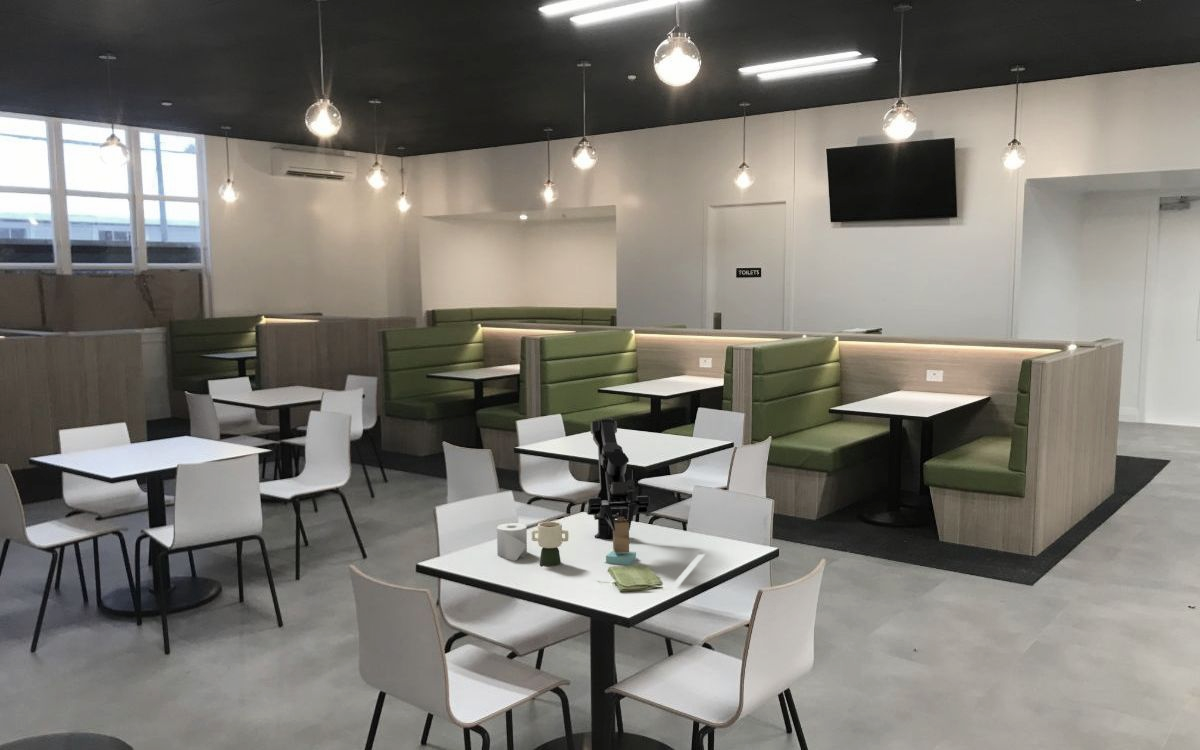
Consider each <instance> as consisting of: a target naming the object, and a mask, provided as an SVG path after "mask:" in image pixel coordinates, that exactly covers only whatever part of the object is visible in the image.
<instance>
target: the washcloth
mask: <svg viewBox="0 0 1200 750" xmlns="http://www.w3.org/2000/svg"><path fill="white" fill-rule="evenodd" d="M607 573H609V574H610V576H611V578H612V579H613V580H614V581H615V582H614V581H613V582H612V584H614V585H615V587H617V589H618V591H619V592H621V593H624V592H626V593H627V592H632V591H644V590H651V589H663V588H664V587H663V586H662V585H663V582H662V579H661V577H659V576H658V575H657V574H656V573H655V572H654V570H653V569H652V568H651V567H649V565H642V564H641V565H630V566H627V565H617V566H616V565H613V566H611V565H610V566H609V567H607ZM658 585H660V586H658Z"/></svg>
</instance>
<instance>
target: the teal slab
mask: <svg viewBox="0 0 1200 750" xmlns="http://www.w3.org/2000/svg"><path fill="white" fill-rule="evenodd" d="M636 558H637V552H636V551H630V550H629V552H623V553H615V552H614V550H612V551H610V552H608V554H606V556H605V562H606V563H605V564H607V563H615V564H614V565H617V564H625V565H624V566H627V565H629V564H630V563H631V562H633V561H634V560H635V559H636Z"/></svg>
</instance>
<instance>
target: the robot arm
mask: <svg viewBox="0 0 1200 750" xmlns="http://www.w3.org/2000/svg"><path fill="white" fill-rule="evenodd" d="M617 433H618V423H617V420H615V419H614V418H612V417H610V418H605V417H604V418H600V419H598V420H597V419H594V420H593V421H592V422H591V423H590V434H591V435H592V440H593V442H594V444H596V446H597V449H598V451H597V452H598V472H599V475H598V476H599V491H598V493H597V495H596V496H595V497H589V498H588V499H587V504H586V514H587V516H593V518H594V520H595V521H596V520H597V533H596V534H595V535H594V538H598V539H611V540H613V531H615V526H614V520H617V517H622V509H627V514H626V518H627V520H628V522H629V531H631V525H632V521H633V519H634V516H637V515H638V514H647V513H649V511H650V508H651V498H650V496H648V495H637V496H636V497H635V500H628V499H629V498H630V495H629V494H630V493H629V492H635V480H634V479H628V480H626V479H625V474H626V471H627V465H628V463H630V461H629V457H628V456H627V454H626V453H625V452H624V450H623V447H622V446H621V445H620V444H618V441H617V437H616V434H617Z"/></svg>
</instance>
